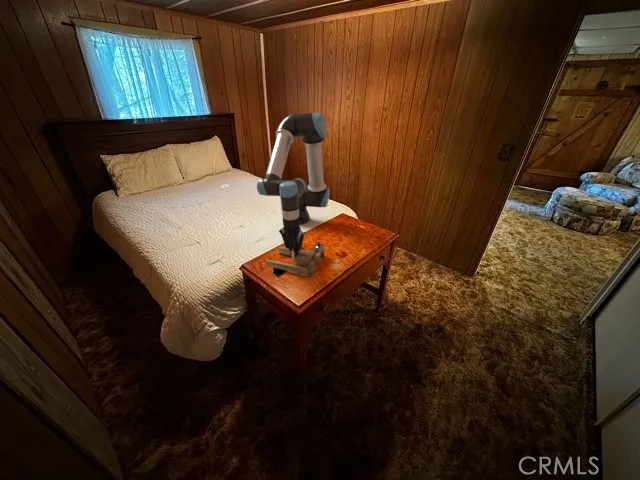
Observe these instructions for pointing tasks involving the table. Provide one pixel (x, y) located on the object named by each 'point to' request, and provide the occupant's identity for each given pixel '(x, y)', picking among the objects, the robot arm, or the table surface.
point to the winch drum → (319, 248)
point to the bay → (294, 268)
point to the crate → (305, 258)
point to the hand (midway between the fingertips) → (294, 260)
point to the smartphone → (278, 272)
